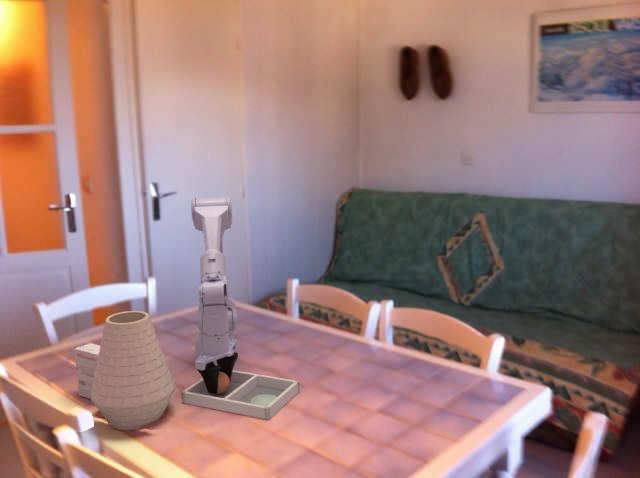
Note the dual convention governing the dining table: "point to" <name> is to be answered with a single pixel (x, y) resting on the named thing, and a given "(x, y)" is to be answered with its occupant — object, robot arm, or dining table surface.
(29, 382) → the dining table surface
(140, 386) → the vase
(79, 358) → the ink box
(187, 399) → the tray
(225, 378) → the ball
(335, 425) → the dining table surface
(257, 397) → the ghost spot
